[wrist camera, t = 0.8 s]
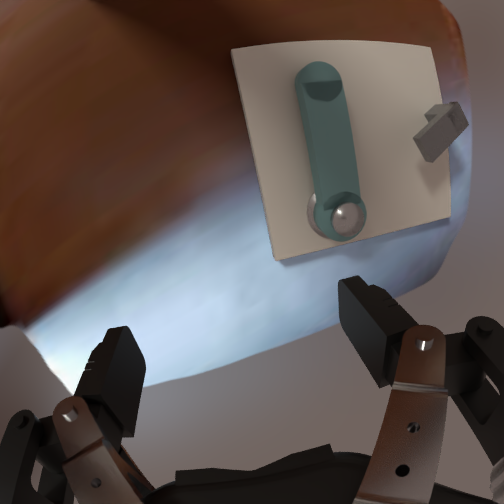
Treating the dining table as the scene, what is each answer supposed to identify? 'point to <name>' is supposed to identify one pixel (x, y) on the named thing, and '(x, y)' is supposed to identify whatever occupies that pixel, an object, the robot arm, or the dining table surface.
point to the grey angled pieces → (431, 147)
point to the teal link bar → (328, 143)
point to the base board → (363, 130)
